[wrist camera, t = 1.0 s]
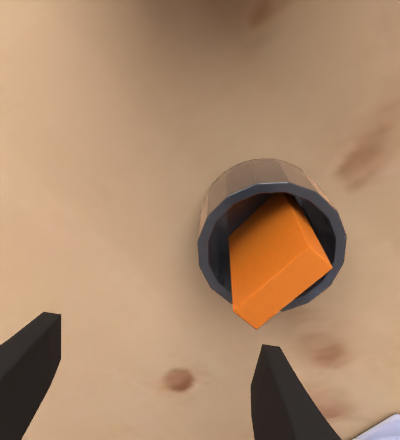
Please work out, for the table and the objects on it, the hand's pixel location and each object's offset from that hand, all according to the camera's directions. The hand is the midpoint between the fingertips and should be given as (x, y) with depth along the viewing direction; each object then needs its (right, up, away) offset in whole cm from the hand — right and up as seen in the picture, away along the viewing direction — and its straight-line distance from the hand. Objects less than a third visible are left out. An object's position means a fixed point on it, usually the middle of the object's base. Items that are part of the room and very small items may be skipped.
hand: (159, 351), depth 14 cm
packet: (+5, +5, +8) cm, 11 cm away
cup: (+5, +5, +9) cm, 11 cm away
